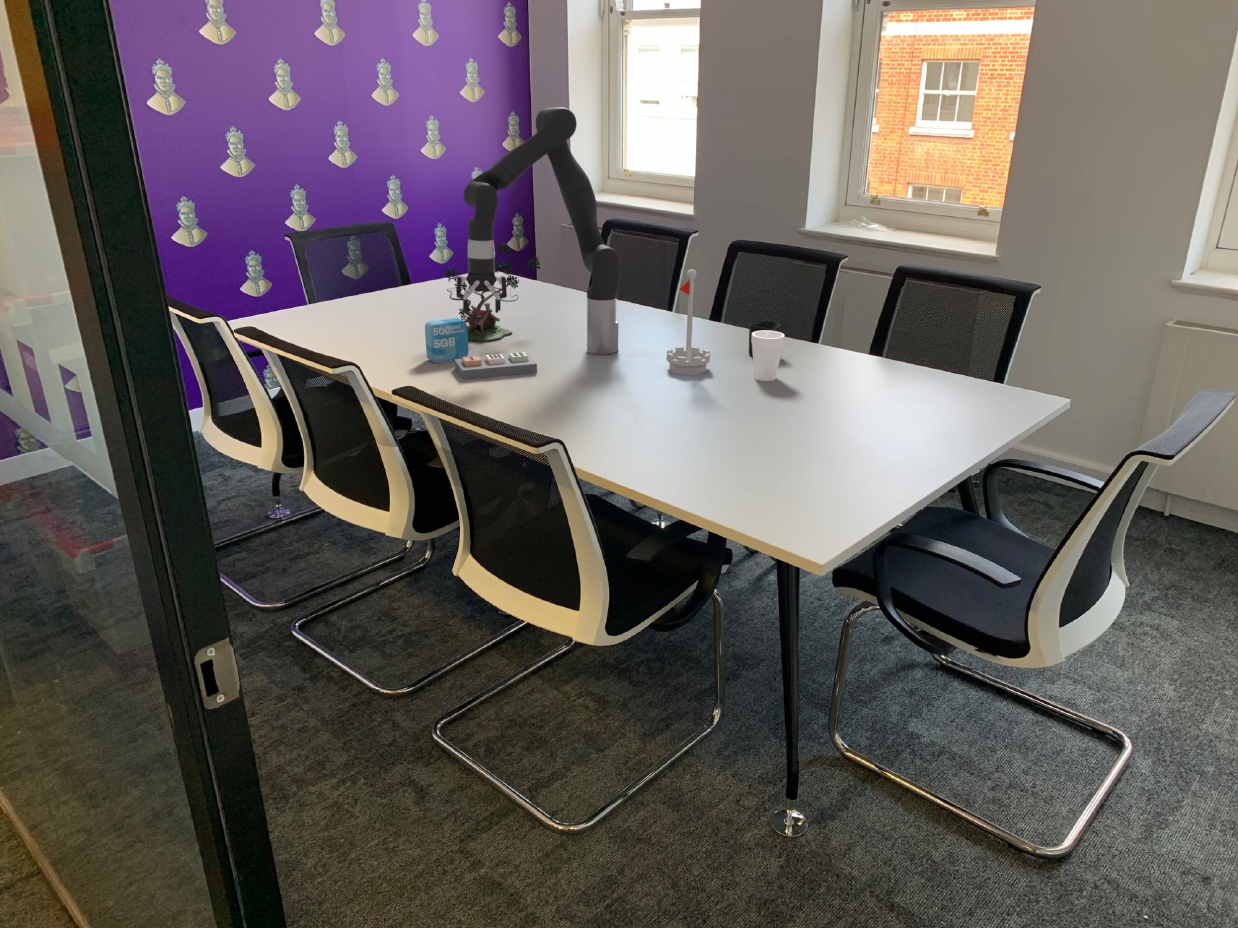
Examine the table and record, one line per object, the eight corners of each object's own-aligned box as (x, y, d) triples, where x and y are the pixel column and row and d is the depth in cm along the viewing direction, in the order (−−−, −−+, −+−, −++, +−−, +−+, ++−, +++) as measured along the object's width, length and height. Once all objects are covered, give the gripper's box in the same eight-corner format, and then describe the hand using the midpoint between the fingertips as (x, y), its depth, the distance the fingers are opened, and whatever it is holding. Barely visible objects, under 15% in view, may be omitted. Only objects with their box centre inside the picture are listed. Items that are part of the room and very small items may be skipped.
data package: (432, 364, 286) (429, 325, 282) (426, 360, 290) (424, 322, 285) (468, 358, 292) (466, 320, 288) (462, 355, 296) (460, 317, 291)
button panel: (526, 362, 289) (526, 353, 288) (537, 373, 278) (536, 363, 277) (454, 369, 282) (454, 359, 280) (463, 380, 271) (462, 370, 270)
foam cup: (760, 384, 271) (764, 340, 266) (742, 375, 279) (745, 332, 274) (787, 380, 275) (791, 336, 270) (768, 371, 283) (772, 329, 278)
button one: (478, 365, 280) (477, 355, 279) (481, 370, 276) (481, 359, 275) (462, 367, 278) (462, 356, 277) (466, 371, 274) (465, 360, 273)
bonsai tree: (484, 352, 298) (479, 251, 286) (432, 339, 312) (426, 242, 300) (559, 332, 323) (557, 238, 311) (508, 320, 337) (505, 230, 325)
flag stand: (686, 360, 292) (689, 263, 281) (718, 369, 284) (723, 269, 272) (657, 369, 284) (659, 269, 273) (689, 378, 275) (693, 275, 264)
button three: (501, 363, 282) (500, 353, 281) (505, 367, 278) (504, 357, 277) (486, 365, 281) (485, 354, 279) (489, 369, 277) (489, 358, 275)
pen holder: (776, 360, 294) (779, 328, 290) (746, 358, 296) (748, 326, 292) (778, 352, 303) (780, 321, 299) (748, 350, 304) (750, 319, 301)
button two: (524, 361, 284) (523, 351, 283) (528, 365, 280) (527, 355, 279) (509, 362, 283) (508, 352, 282) (513, 367, 279) (512, 356, 278)
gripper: (505, 253, 272) (505, 309, 278) (455, 253, 270) (456, 309, 276) (507, 258, 266) (507, 315, 271) (456, 257, 263) (457, 315, 269)
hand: (481, 312), depth 273 cm, fingers open, 8 cm apart
